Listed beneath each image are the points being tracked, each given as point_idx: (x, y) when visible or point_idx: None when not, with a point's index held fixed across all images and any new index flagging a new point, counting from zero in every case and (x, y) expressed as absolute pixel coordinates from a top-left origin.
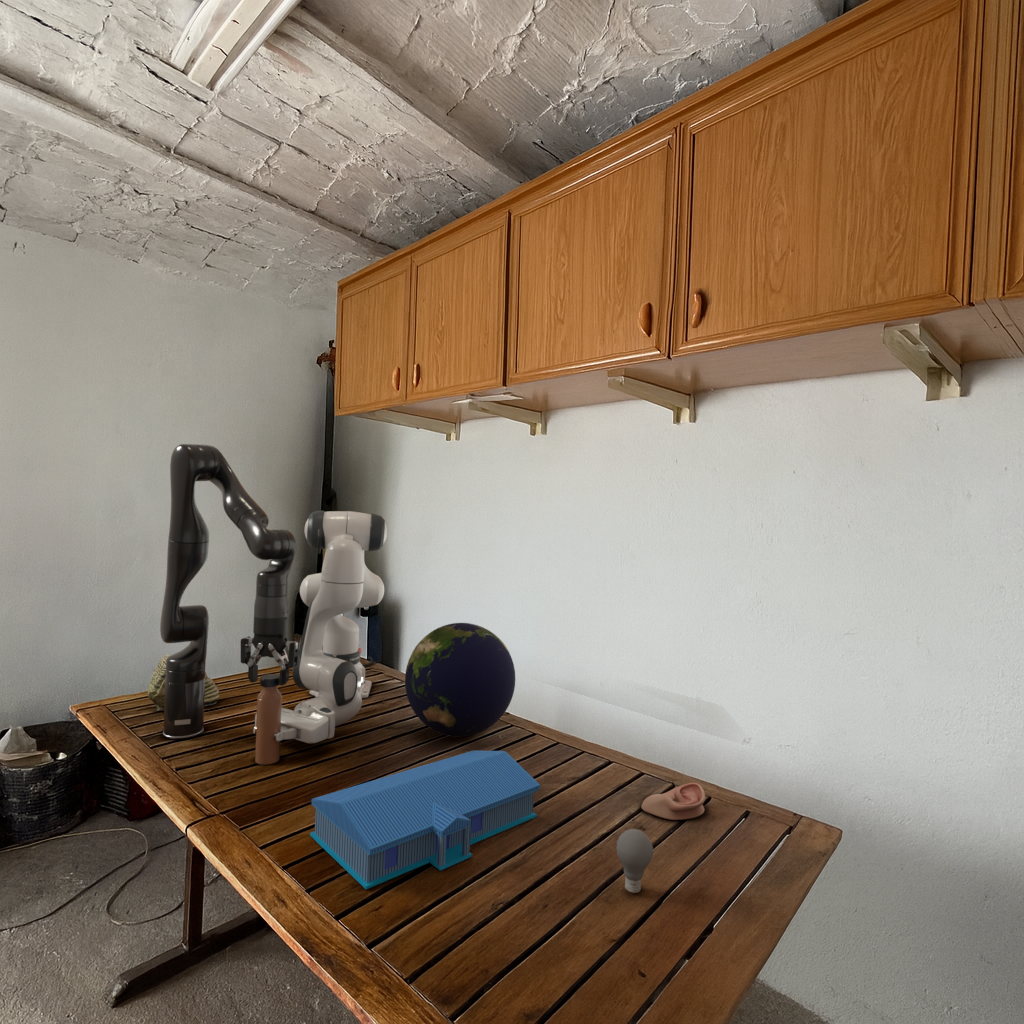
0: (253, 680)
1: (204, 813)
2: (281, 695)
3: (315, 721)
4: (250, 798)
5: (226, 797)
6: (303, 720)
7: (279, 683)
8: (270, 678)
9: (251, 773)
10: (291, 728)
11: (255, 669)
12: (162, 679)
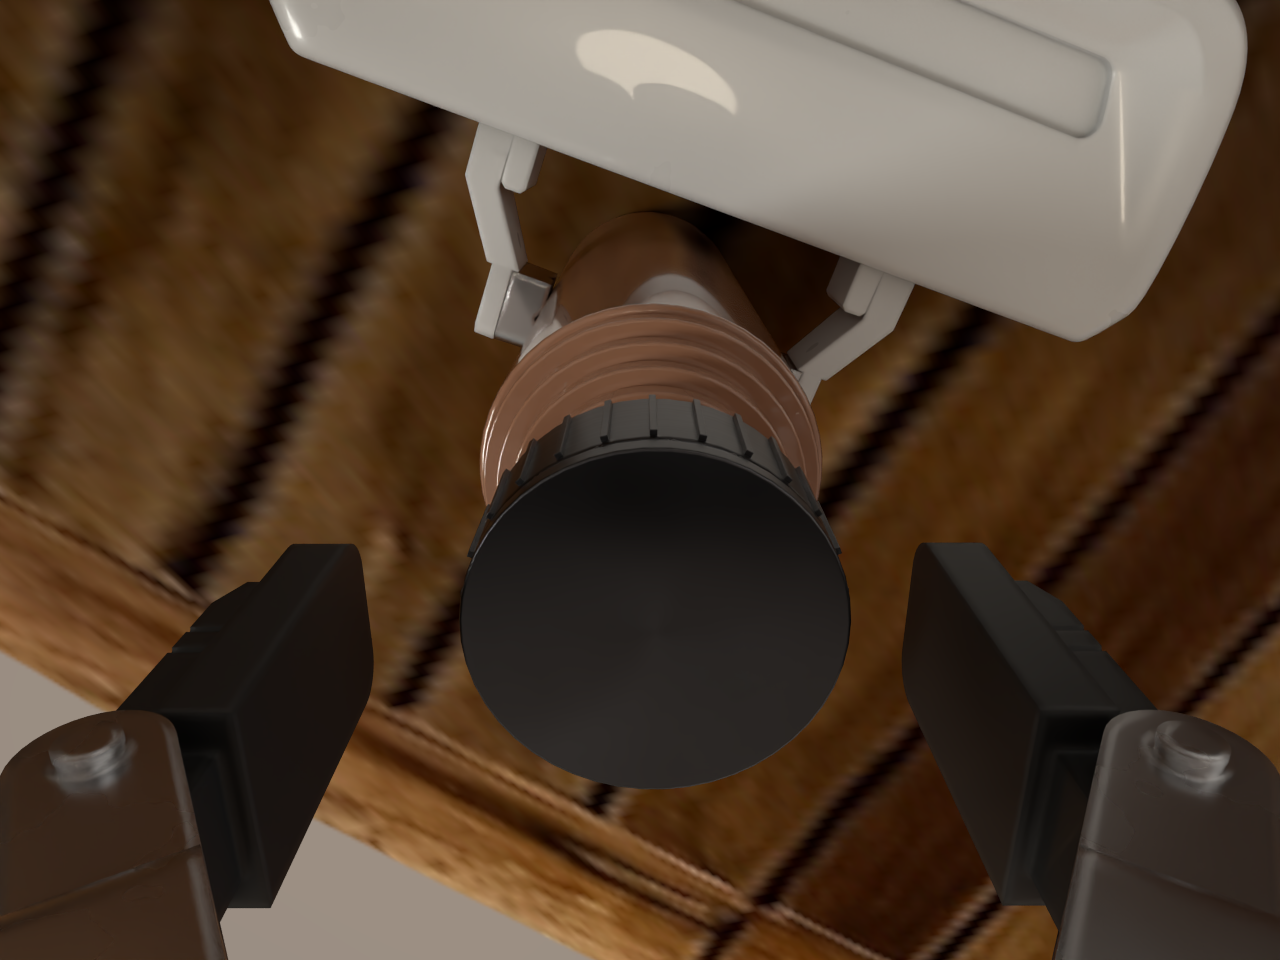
0: (362, 674)
1: (688, 919)
2: (792, 383)
3: (1069, 68)
4: (821, 770)
5: (695, 786)
6: (937, 111)
7: (909, 703)
8: (722, 732)
9: None
10: (862, 290)
11: (284, 760)
12: None
